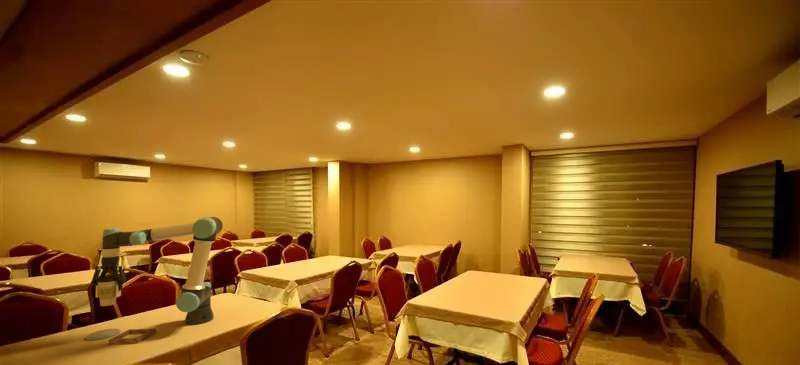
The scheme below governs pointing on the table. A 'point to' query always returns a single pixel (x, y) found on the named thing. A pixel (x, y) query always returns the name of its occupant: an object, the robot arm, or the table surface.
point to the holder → (119, 337)
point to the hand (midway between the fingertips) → (108, 296)
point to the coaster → (102, 334)
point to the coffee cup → (107, 290)
